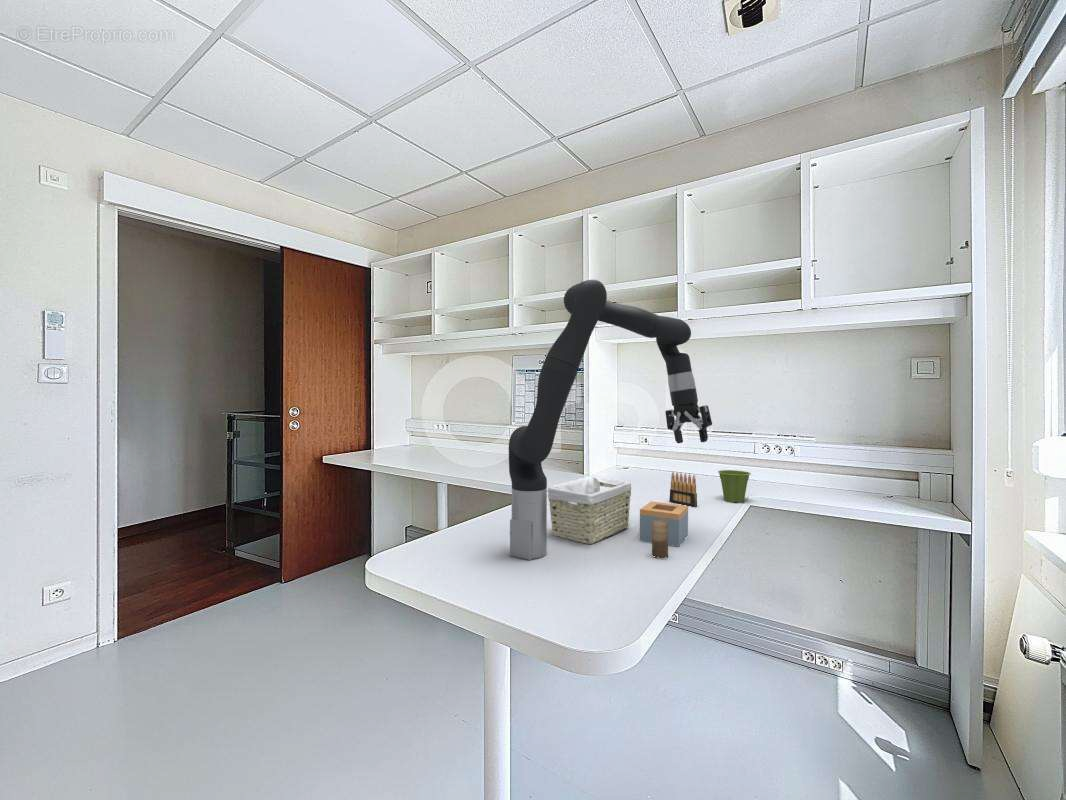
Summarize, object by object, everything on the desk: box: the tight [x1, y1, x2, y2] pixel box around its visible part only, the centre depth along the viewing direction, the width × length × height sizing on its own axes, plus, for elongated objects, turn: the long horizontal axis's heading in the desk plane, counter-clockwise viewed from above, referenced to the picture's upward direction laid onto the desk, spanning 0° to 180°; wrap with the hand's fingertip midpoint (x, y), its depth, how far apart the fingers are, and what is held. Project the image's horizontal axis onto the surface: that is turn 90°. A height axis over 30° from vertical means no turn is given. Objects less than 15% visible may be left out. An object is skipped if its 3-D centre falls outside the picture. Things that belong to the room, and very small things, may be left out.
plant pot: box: [717, 469, 752, 503], centre depth 184 cm, size 12×12×11 cm
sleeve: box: [639, 500, 689, 547], centre depth 136 cm, size 11×11×9 cm
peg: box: [651, 519, 669, 559], centre depth 122 cm, size 4×4×9 cm
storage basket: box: [547, 475, 632, 545], centre depth 143 cm, size 24×16×15 cm
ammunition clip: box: [668, 471, 698, 508], centre depth 178 cm, size 11×2×12 cm, turn 41°
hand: (691, 442), depth 140 cm, fingers open, 8 cm apart
